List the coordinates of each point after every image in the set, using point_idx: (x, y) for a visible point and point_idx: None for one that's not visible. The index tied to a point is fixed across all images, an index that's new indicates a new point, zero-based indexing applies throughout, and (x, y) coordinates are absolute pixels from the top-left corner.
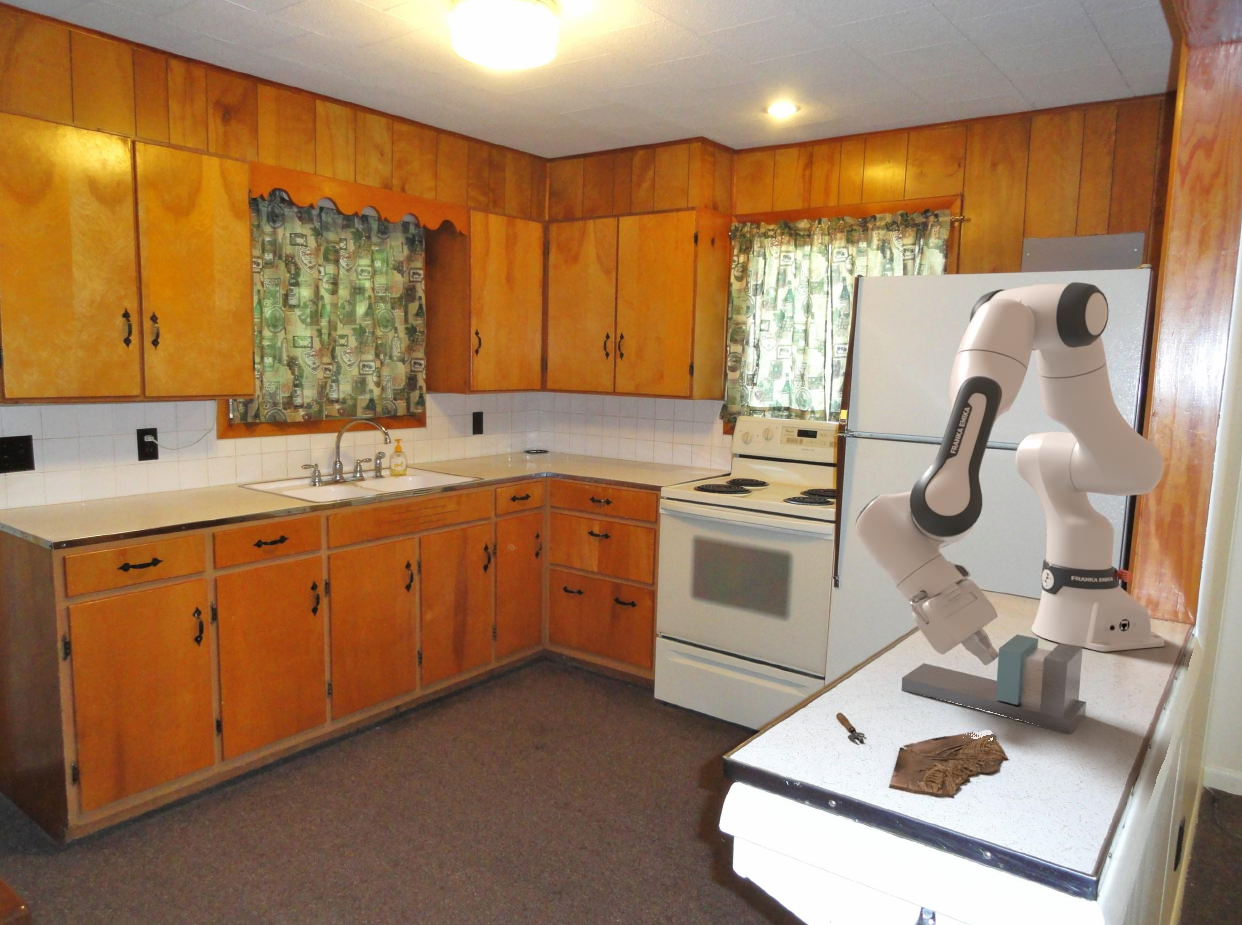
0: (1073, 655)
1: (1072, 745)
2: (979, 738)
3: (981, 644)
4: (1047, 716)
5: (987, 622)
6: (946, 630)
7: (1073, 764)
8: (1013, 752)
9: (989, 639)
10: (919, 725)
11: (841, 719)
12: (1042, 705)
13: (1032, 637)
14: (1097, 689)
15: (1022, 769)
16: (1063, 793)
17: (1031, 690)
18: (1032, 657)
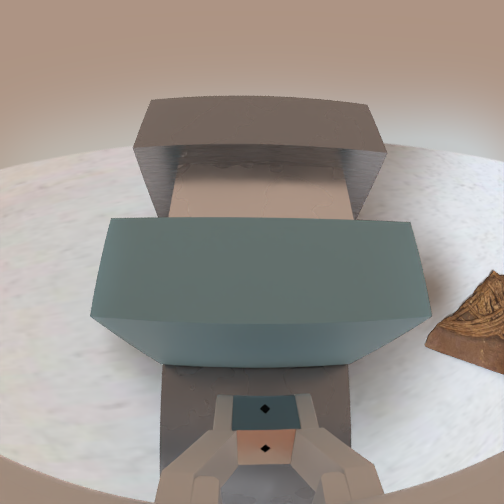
0: (271, 98)
1: (367, 207)
2: (475, 334)
3: (332, 452)
4: None
5: (80, 488)
6: None
7: (430, 197)
8: (469, 273)
9: (187, 451)
10: (492, 441)
11: None
12: None
13: (106, 242)
14: (30, 230)
15: (497, 247)
16: (498, 197)
17: None
18: (329, 211)
